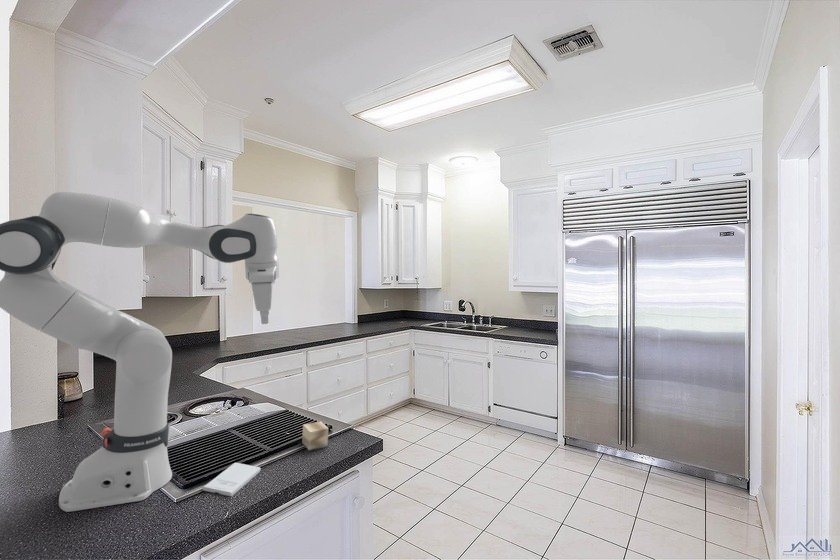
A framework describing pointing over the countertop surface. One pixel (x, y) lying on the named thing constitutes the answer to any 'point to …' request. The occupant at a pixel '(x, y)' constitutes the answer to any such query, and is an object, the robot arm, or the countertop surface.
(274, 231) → the robot arm
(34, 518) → the countertop surface
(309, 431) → the maple cube
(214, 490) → the external hard drive
